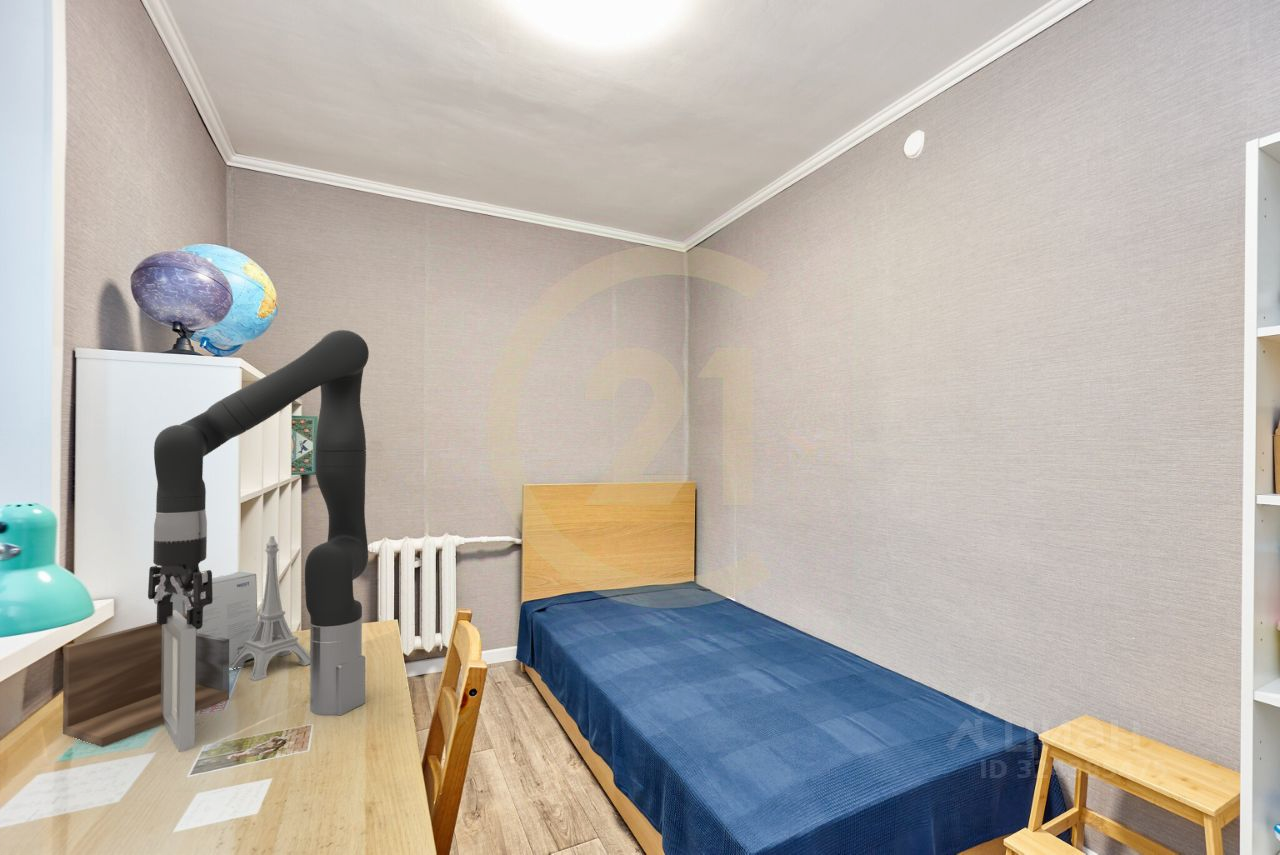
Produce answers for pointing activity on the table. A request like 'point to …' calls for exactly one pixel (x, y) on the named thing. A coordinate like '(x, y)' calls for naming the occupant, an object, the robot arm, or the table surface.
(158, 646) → the walnut shelf
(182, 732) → the picture frame
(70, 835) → the table surface
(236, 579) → the hard drive box
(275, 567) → the eiffel tower
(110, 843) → the table surface
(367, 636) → the table surface
